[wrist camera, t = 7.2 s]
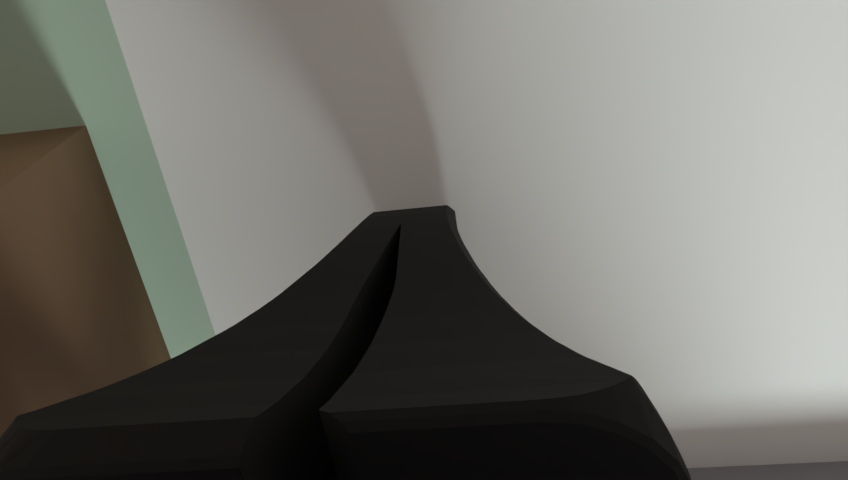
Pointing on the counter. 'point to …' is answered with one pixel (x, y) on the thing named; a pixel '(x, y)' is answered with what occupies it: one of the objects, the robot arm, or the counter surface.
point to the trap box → (496, 176)
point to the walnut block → (65, 277)
